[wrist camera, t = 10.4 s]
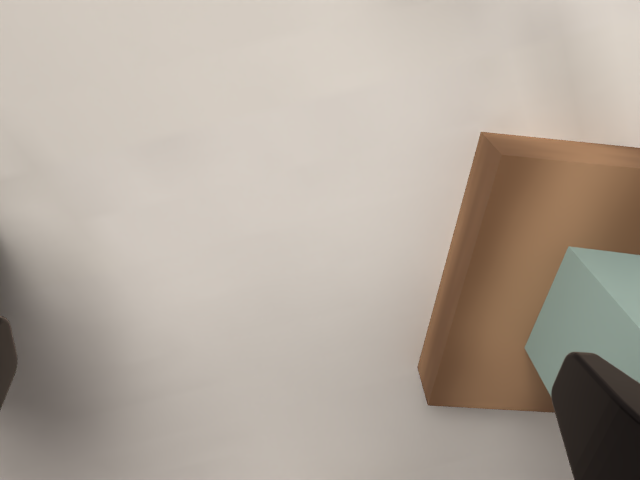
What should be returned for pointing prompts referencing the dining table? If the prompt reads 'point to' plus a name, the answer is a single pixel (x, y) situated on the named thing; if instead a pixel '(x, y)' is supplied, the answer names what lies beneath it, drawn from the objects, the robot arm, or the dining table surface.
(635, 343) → the teal block
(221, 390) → the dining table surface
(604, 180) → the walnut slab
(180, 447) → the dining table surface
